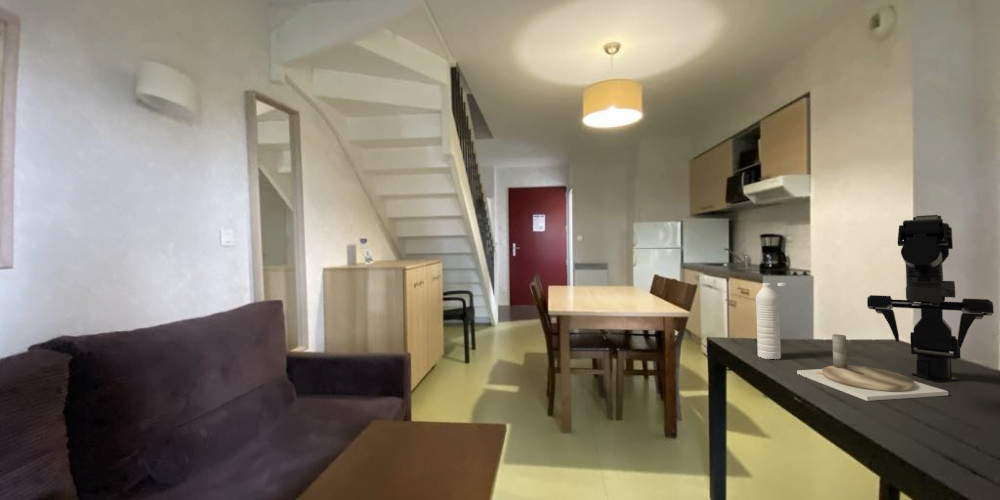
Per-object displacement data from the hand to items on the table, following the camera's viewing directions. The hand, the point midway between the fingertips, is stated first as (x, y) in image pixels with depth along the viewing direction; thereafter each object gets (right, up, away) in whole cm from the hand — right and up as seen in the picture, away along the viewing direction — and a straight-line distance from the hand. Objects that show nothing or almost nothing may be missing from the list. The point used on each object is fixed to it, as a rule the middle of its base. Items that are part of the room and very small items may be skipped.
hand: (927, 344), depth 88 cm
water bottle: (-2, -16, +47) cm, 49 cm away
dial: (+5, -14, +20) cm, 25 cm away
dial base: (+5, -15, +20) cm, 26 cm away
